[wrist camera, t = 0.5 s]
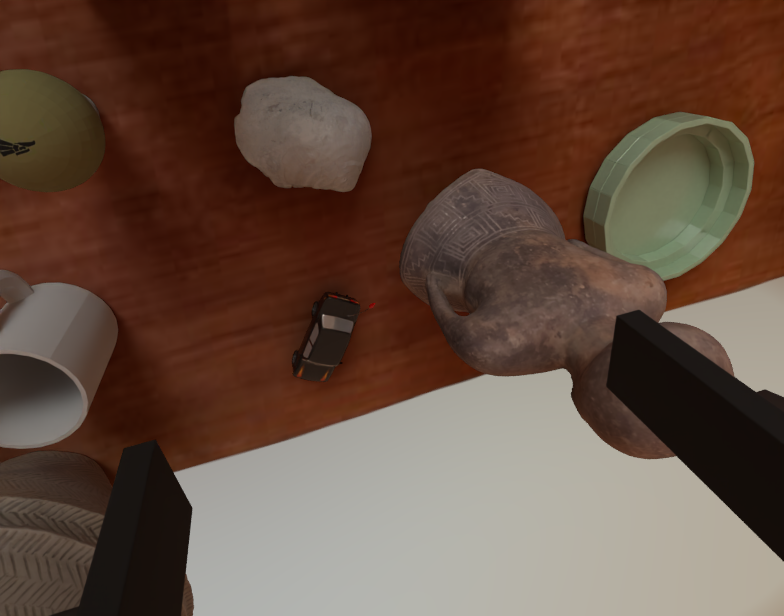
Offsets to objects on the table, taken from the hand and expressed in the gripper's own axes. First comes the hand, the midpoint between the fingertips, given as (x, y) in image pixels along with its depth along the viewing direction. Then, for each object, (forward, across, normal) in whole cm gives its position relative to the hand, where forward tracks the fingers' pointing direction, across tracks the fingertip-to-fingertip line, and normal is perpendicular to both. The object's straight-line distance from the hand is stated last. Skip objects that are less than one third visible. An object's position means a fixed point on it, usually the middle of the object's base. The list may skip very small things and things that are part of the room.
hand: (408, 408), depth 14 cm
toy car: (+25, 0, -11) cm, 28 cm away
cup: (+26, -20, -6) cm, 33 cm away
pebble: (+26, 0, +3) cm, 26 cm away
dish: (+25, +30, -7) cm, 40 cm away
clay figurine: (+26, +11, -6) cm, 28 cm away
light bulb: (+26, -13, +6) cm, 29 cm away
